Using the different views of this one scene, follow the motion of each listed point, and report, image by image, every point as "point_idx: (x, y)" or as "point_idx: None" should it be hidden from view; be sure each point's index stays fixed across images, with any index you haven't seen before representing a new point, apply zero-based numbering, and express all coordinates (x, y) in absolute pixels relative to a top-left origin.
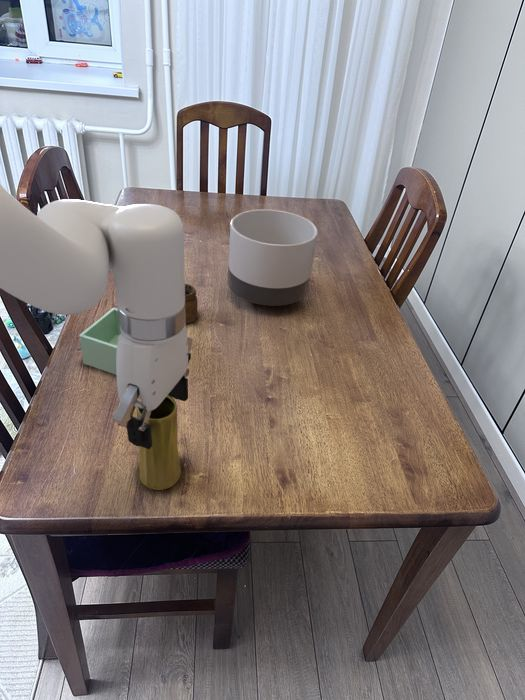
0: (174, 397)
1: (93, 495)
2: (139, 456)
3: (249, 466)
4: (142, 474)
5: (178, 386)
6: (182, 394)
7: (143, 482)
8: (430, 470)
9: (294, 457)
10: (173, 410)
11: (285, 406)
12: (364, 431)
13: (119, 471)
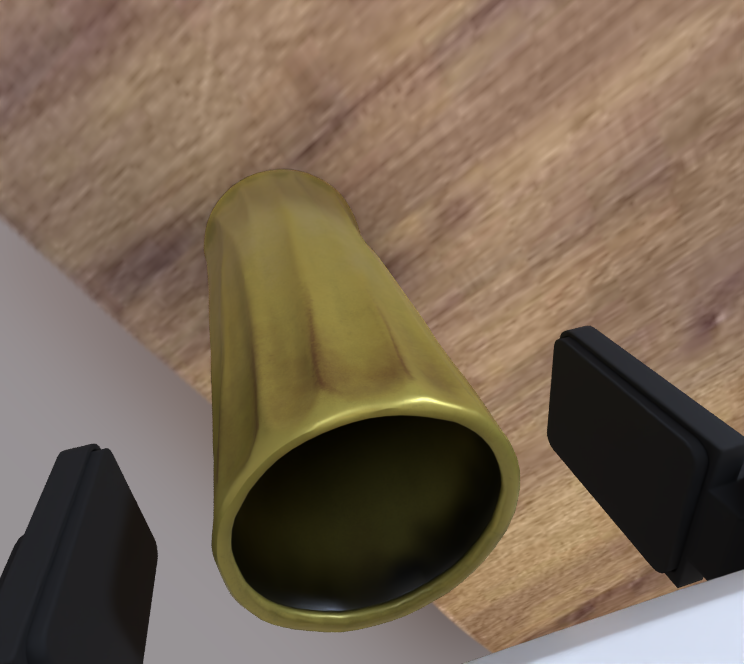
0: (554, 386)
1: (13, 90)
2: (228, 240)
3: None
4: (217, 230)
5: (624, 488)
6: (579, 466)
7: (206, 234)
8: None
9: (529, 477)
10: (405, 606)
11: (691, 370)
12: None
13: (188, 98)
